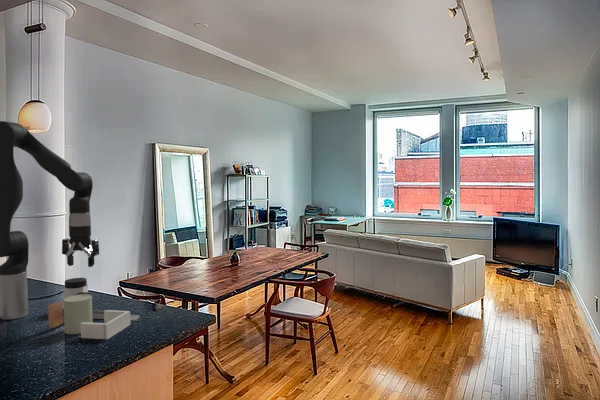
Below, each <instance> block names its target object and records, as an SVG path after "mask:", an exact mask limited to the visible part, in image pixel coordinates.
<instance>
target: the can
mask: <svg viewBox="0 0 600 400" xmlns="http://www.w3.org/2000/svg"><path fill="white" fill-rule="evenodd" d="M62 303H63V317H64V322H63V324H64V330H63V332H64V333H65V334H67V335H79V334H80V335H81V323H82V322H88V323H94V321H93V320H94V319H92V310H93V296H92V294H90V295H88V294H81V295H73V296H69V297H66V298H64V297H63V299H62Z"/></svg>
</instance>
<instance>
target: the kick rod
mask: <svg viewBox="0 0 600 400" xmlns="http://www.w3.org/2000/svg"><path fill="white" fill-rule="evenodd" d="M81 294H88V295H91V292H89V291H88V292H80V293H77V294H75V295H81ZM105 310H106V309H105ZM105 310H103V309H100V310H99V309H92V314H100V315H104V311H105ZM47 311H48V328H49V329H54V328H56V327H59V326H61V325H63V324H64V310H63V301H56V302H53V303H51V304H49V305H48V306H47Z"/></svg>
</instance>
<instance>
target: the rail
mask: <svg viewBox="0 0 600 400" xmlns="http://www.w3.org/2000/svg"><path fill="white" fill-rule="evenodd" d="M95 319H97V320H104V315H100V314H92V320H95ZM138 319H140V314H130V321H132V322H135V321H137V320H138Z"/></svg>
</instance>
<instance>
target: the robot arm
mask: <svg viewBox="0 0 600 400" xmlns="http://www.w3.org/2000/svg"><path fill="white" fill-rule="evenodd" d="M15 147H16V148H17V149H20V150H22V151H23V152H24V151H25V152H26V153H28V154H29V155H31V157H32V158H33V159H34V160H35V162H36V163H37V164H38V165H39V166H40V167H41V168H42V169H43V170H45V171H46V172H48V173H49V174H51V176H54V178H56V179H57V180H58V182H60V183H61V184H62V185H63V186H64V187H65V188H66V189H68V190H70V191H72V192H74V194H73V197H71V198H70V199H69V201H68V203H69V205H68V210H69V214H68V237H69V238H64V239H62V240H61V241H62V242H61V254H62V255H65V256H66V264H67V265H68V266H69V267H72V266H74V262H75V261H74V258H75V257H74V254H75V252H77V251H80V252H84V253H85V254H86V255H87V267H88V268H92V267H94V265H95V256H98V255H100V244H99V243H100V242H99V239H94V240H93V239H91V236H92V222H91V221H92V218H91V207H90V204H91V203H90V202H91V201H90V200H91V198H92V193H93V187H94V184H93V179H92V176H91V175H90V174H89V173H86V172H76V171H75V170H73V169H72V166H71V164H70V163H69V162H68V161H66V160H65V159H64V158H62V157H61V156H60V155H58V154H56V153H55V152H54V151H52V150H51V149H49V148H48V147H46V145H44V144H43V143H42V142H40V140H39V139H37V138H36V137H35V136H34V135H33V134H32V132H30V131H29V130H28V129H27V128H26V127H25V126H23V125H22V124H19V123H17V122H11V121H4V120H1V121H0V258H5V257H8V258H7V260H5V262H3V263H2V264H0V319H1V320H15V319H20V318H23V317H26V316H27V315H29V297H28V276H27V275H28V271H27V267H28V265H29V254H30V253H29V239H28V237H27V234H26V233H25V232H23V231H21V230H14V231H12V230H11V226H12V225H11V223H12V220H13V217H14V216H15V214H16V212H17V210H18V209H19V208H20V205H21V203H22V202H23V196H24V182H23V178H22V175H21V173H20V171H19V170H18V168H17V166H16V162H15V159H14V158H15V157H14V148H15Z"/></svg>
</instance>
